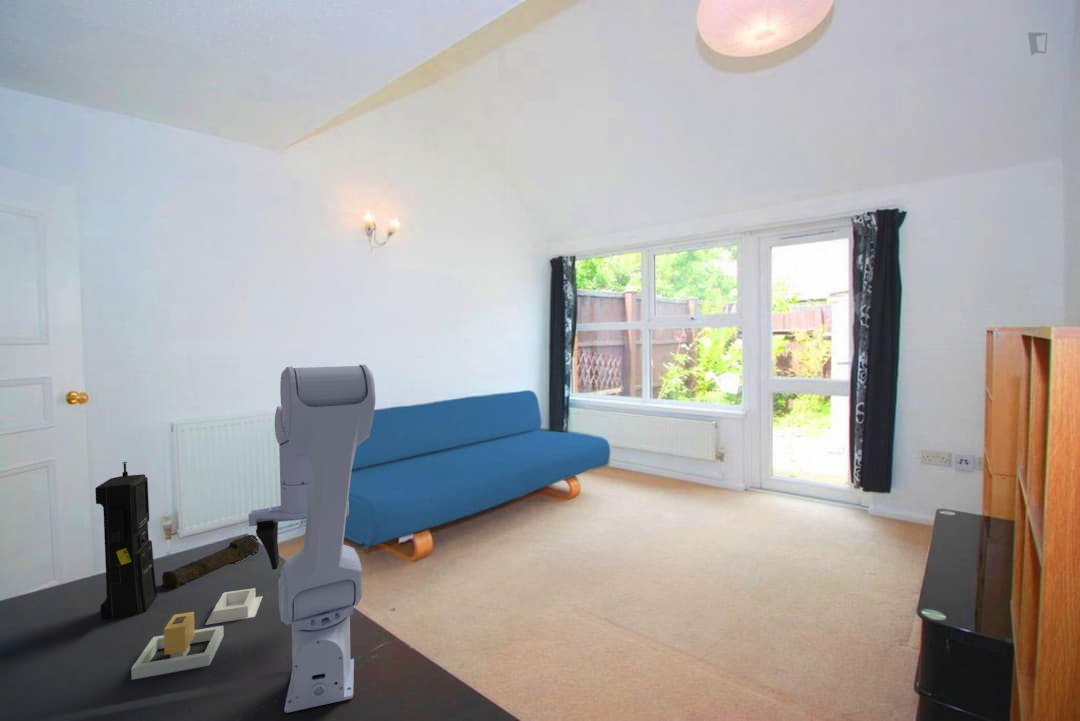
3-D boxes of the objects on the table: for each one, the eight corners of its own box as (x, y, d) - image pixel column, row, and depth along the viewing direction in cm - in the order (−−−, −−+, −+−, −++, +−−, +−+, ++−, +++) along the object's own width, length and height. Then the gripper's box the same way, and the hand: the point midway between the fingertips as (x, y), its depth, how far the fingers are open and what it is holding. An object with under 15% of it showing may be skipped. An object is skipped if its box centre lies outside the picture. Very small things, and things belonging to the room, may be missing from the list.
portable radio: (143, 621, 83) (137, 470, 82) (97, 628, 81) (91, 474, 80) (158, 598, 91) (154, 459, 90) (117, 604, 89) (111, 462, 87)
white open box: (254, 621, 83) (254, 605, 83) (205, 629, 81) (204, 613, 81) (262, 600, 90) (262, 586, 90) (217, 607, 88) (216, 592, 87)
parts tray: (209, 670, 71) (209, 654, 71) (131, 685, 68) (131, 668, 68) (223, 640, 78) (223, 625, 78) (153, 651, 75) (153, 636, 75)
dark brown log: (174, 595, 92) (173, 570, 92) (160, 591, 94) (160, 566, 94) (267, 555, 110) (267, 534, 109) (254, 552, 111) (254, 531, 111)
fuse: (186, 663, 72) (184, 625, 71) (165, 667, 71) (163, 628, 71) (195, 647, 75) (194, 611, 75) (175, 650, 75) (174, 614, 74)
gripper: (348, 470, 88) (350, 547, 89) (254, 477, 83) (256, 559, 84) (347, 481, 81) (349, 564, 82) (244, 490, 77) (247, 578, 77)
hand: (301, 563), depth 82 cm, fingers open, 7 cm apart
